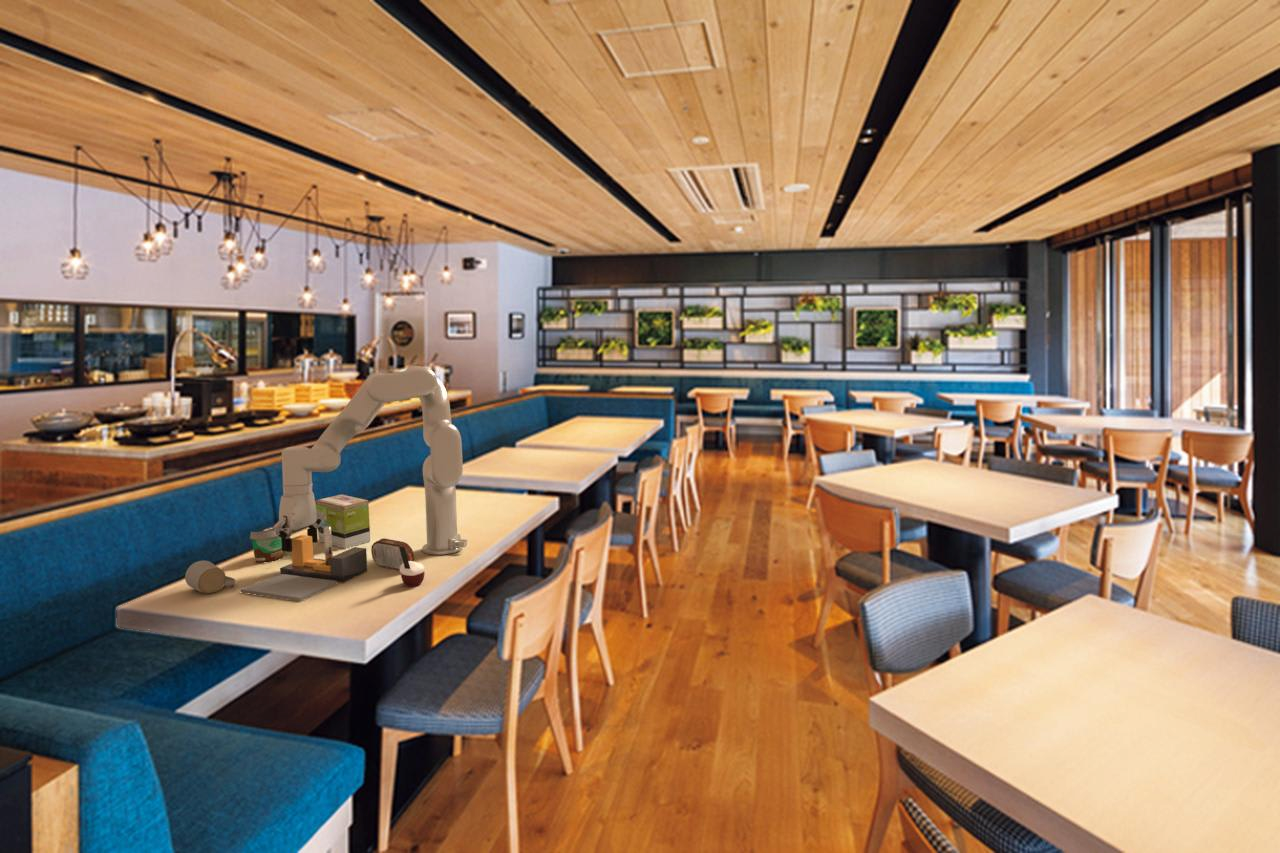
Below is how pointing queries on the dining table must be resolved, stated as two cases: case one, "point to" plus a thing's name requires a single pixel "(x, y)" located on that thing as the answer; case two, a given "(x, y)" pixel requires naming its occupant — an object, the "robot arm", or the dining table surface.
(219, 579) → the ceramic mug
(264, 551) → the food container
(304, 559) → the orange block with loop
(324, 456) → the robot arm
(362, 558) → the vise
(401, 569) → the cocoa
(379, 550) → the tin
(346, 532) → the tea box
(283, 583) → the rubber mat
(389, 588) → the dining table surface
